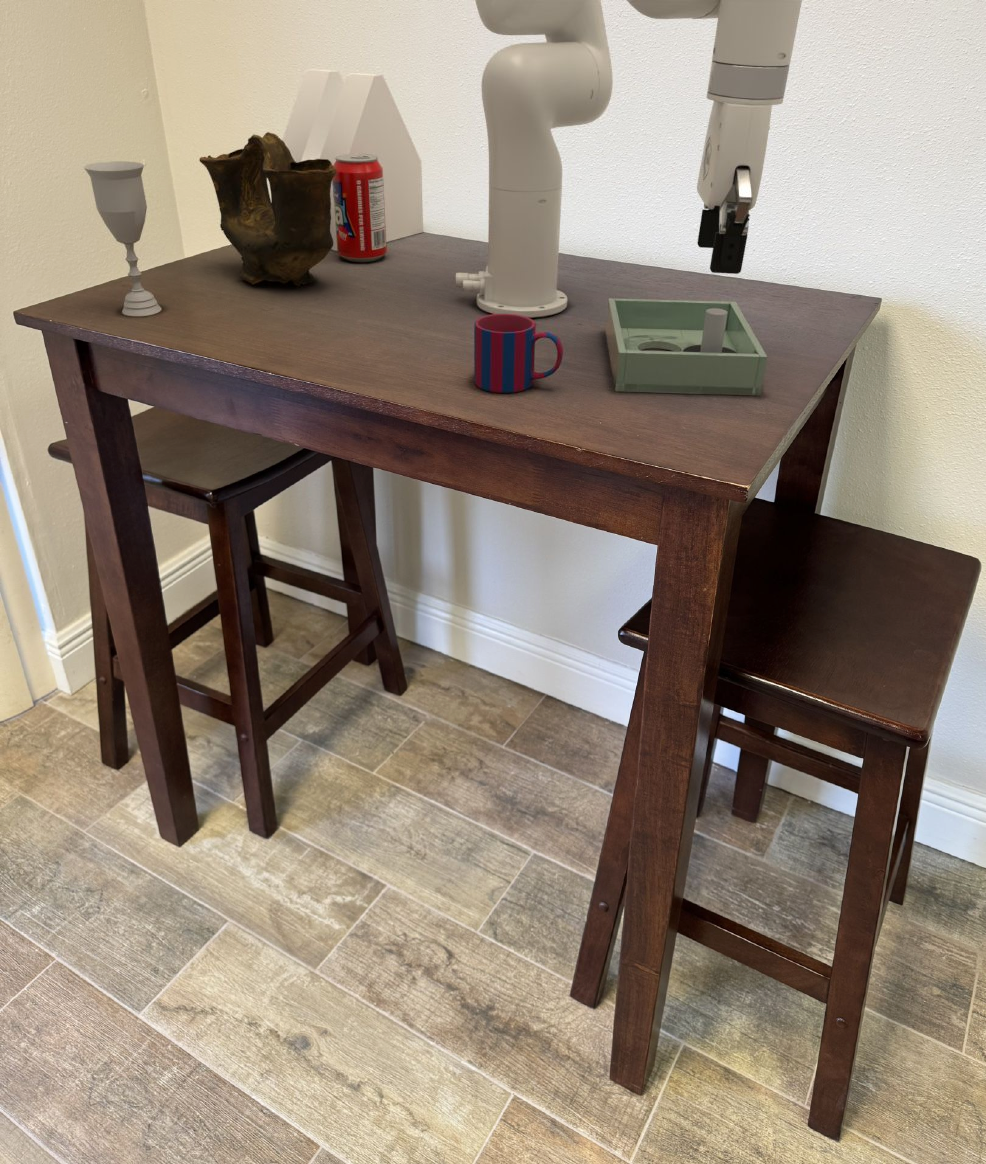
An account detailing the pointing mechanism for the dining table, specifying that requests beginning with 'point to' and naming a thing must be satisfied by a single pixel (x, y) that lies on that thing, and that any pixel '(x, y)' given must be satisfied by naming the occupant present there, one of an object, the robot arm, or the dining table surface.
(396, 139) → the white twin peaked block
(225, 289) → the dining table surface
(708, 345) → the plug
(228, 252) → the dining table surface
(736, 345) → the sink
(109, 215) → the chalice
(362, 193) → the soda can
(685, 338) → the sink floor
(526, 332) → the mug
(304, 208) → the pottery vessel
